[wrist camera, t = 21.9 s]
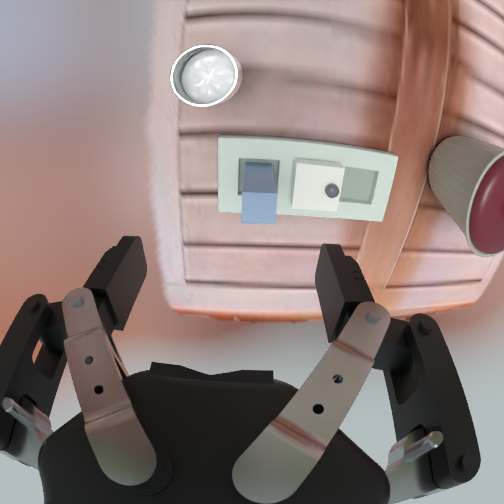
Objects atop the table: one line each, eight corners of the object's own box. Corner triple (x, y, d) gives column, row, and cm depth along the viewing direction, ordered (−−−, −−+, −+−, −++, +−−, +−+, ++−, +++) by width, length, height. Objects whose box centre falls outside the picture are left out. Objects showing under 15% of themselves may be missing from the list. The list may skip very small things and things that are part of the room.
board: (220, 134, 39) (218, 138, 37) (391, 152, 39) (398, 156, 37) (220, 205, 46) (218, 211, 44) (377, 215, 46) (382, 221, 44)
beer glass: (189, 87, 34) (155, 91, 22) (213, 49, 31) (190, 31, 19) (229, 108, 36) (216, 121, 24) (254, 70, 33) (255, 62, 21)
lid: (294, 158, 38) (297, 165, 35) (340, 163, 38) (346, 170, 35) (289, 201, 42) (292, 211, 39) (332, 204, 42) (338, 214, 39)
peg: (245, 162, 40) (241, 192, 30) (271, 163, 40) (277, 193, 30) (244, 186, 43) (241, 223, 33) (270, 187, 43) (275, 224, 33)
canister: (410, 122, 36) (497, 165, 19) (480, 120, 33) (560, 160, 16) (412, 215, 46) (471, 289, 29) (476, 202, 43) (536, 260, 26)
